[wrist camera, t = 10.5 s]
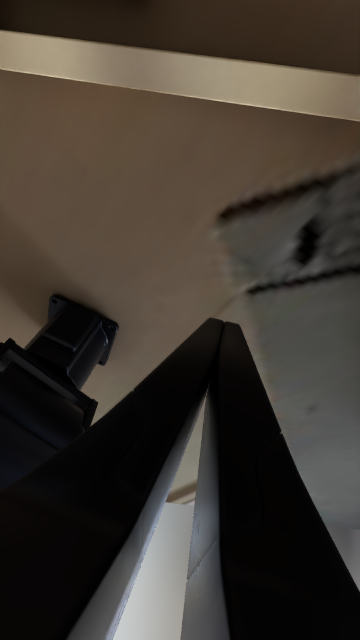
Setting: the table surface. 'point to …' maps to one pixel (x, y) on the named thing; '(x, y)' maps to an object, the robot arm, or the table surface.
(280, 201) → the table surface
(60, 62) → the corner bracket
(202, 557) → the robot arm
